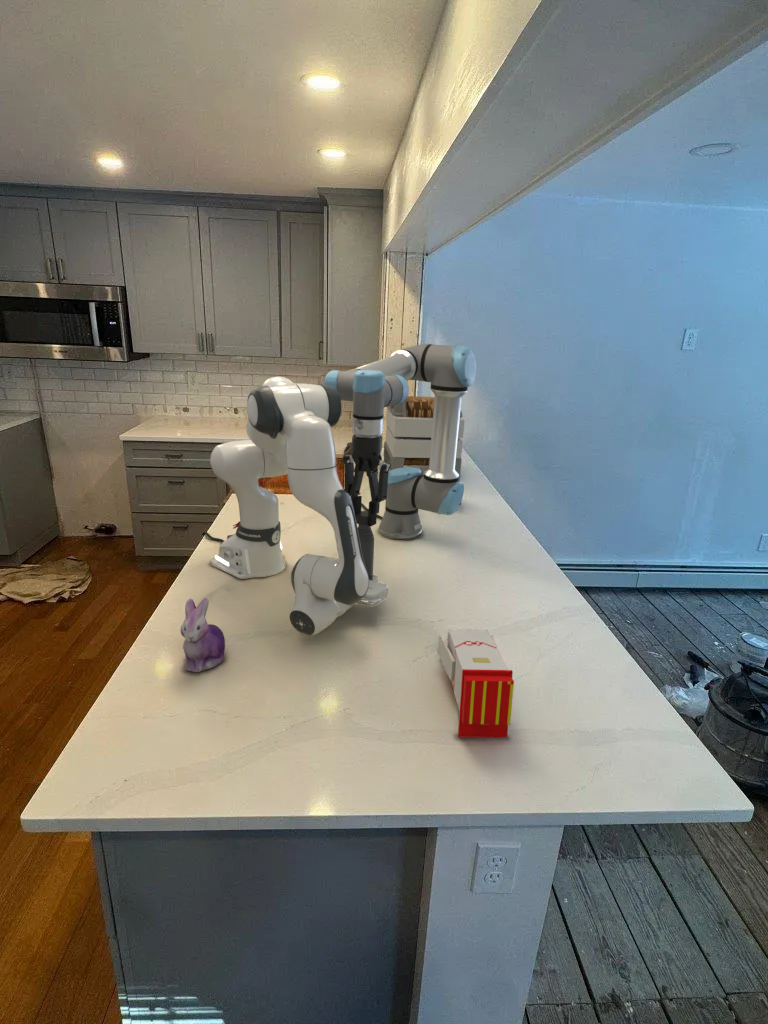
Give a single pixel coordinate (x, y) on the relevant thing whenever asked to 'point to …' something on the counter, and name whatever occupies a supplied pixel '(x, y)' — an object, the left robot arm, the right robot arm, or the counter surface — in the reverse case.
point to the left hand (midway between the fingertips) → (364, 574)
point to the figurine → (201, 638)
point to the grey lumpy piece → (348, 449)
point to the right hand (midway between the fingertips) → (364, 522)
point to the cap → (362, 517)
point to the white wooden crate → (413, 433)
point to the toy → (478, 682)
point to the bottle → (367, 546)
